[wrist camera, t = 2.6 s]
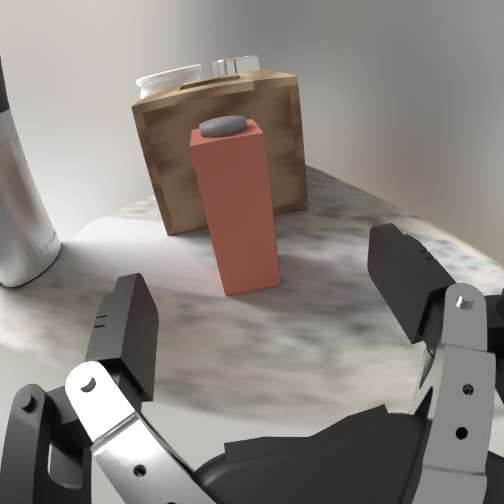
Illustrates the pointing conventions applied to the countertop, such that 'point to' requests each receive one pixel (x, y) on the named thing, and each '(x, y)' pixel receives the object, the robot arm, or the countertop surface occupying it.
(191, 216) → the slot box
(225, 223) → the spice tin
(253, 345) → the countertop surface
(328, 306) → the countertop surface
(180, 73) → the jar
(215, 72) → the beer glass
